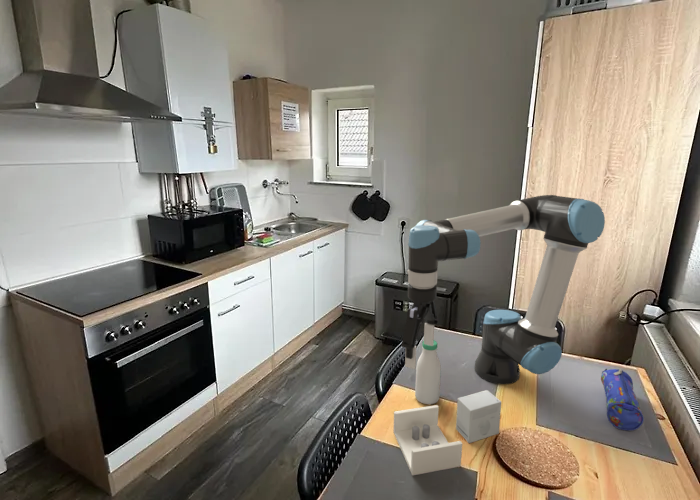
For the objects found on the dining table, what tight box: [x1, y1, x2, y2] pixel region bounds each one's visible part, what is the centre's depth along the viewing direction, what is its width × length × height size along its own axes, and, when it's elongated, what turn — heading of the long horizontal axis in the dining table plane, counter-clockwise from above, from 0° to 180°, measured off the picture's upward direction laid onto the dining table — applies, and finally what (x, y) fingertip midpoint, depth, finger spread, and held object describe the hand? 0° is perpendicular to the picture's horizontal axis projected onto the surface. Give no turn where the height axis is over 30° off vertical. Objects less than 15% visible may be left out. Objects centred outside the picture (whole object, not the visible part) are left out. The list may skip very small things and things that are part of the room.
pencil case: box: [600, 368, 645, 431], centre depth 116 cm, size 22×9×10 cm, turn 152°
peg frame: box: [392, 404, 463, 476], centre depth 101 cm, size 13×15×7 cm
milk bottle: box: [414, 339, 442, 405], centre depth 120 cm, size 8×8×20 cm
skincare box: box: [455, 389, 502, 444], centre depth 107 cm, size 10×6×10 cm, turn 110°
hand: (419, 355), depth 106 cm, fingers open, 13 cm apart
